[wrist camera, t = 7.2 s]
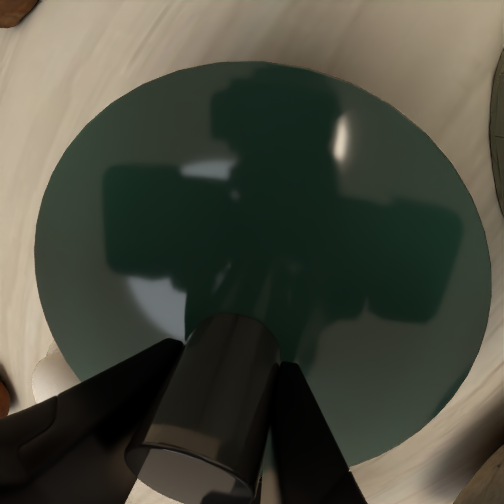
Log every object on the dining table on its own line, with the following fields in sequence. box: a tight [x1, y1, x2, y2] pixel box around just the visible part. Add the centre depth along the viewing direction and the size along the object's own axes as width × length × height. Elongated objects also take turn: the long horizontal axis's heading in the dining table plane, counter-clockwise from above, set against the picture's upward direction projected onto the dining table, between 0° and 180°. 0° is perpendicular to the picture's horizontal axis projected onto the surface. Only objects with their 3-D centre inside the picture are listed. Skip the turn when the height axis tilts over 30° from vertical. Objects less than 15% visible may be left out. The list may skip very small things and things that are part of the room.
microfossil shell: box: [32, 340, 81, 404], centre depth 14 cm, size 4×5×6 cm
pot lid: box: [34, 61, 491, 504], centre depth 7 cm, size 14×14×5 cm
